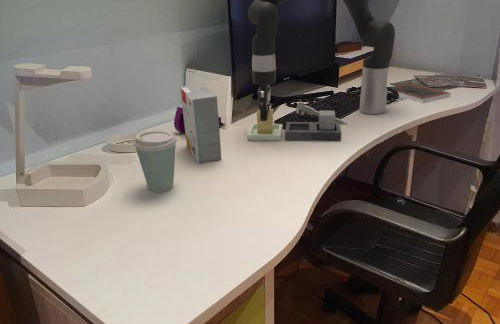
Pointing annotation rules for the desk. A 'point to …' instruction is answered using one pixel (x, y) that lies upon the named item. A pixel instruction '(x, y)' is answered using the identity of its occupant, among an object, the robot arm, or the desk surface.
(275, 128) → the parts tray
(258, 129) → the golden yellow block
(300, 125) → the grey metal frame
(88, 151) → the desk surface
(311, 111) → the caliper
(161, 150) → the disposable coffee cup
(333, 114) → the grey upright block
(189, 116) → the hard drive box
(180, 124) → the mounting bracket
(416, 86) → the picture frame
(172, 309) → the desk surface
